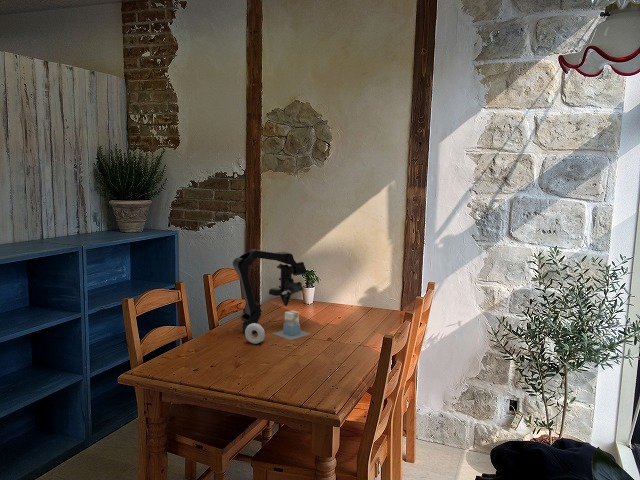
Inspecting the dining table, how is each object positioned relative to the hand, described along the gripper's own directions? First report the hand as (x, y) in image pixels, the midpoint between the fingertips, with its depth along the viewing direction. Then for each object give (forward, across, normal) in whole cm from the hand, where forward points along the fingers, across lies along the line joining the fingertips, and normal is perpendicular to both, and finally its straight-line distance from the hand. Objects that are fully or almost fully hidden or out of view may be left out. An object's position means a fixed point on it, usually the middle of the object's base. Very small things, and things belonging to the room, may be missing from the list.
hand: (285, 305), depth 272 cm
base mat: (+12, -6, -11) cm, 17 cm away
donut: (+12, -27, -8) cm, 31 cm away
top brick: (+6, -6, -11) cm, 14 cm away
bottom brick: (+11, -6, -11) cm, 17 cm away
